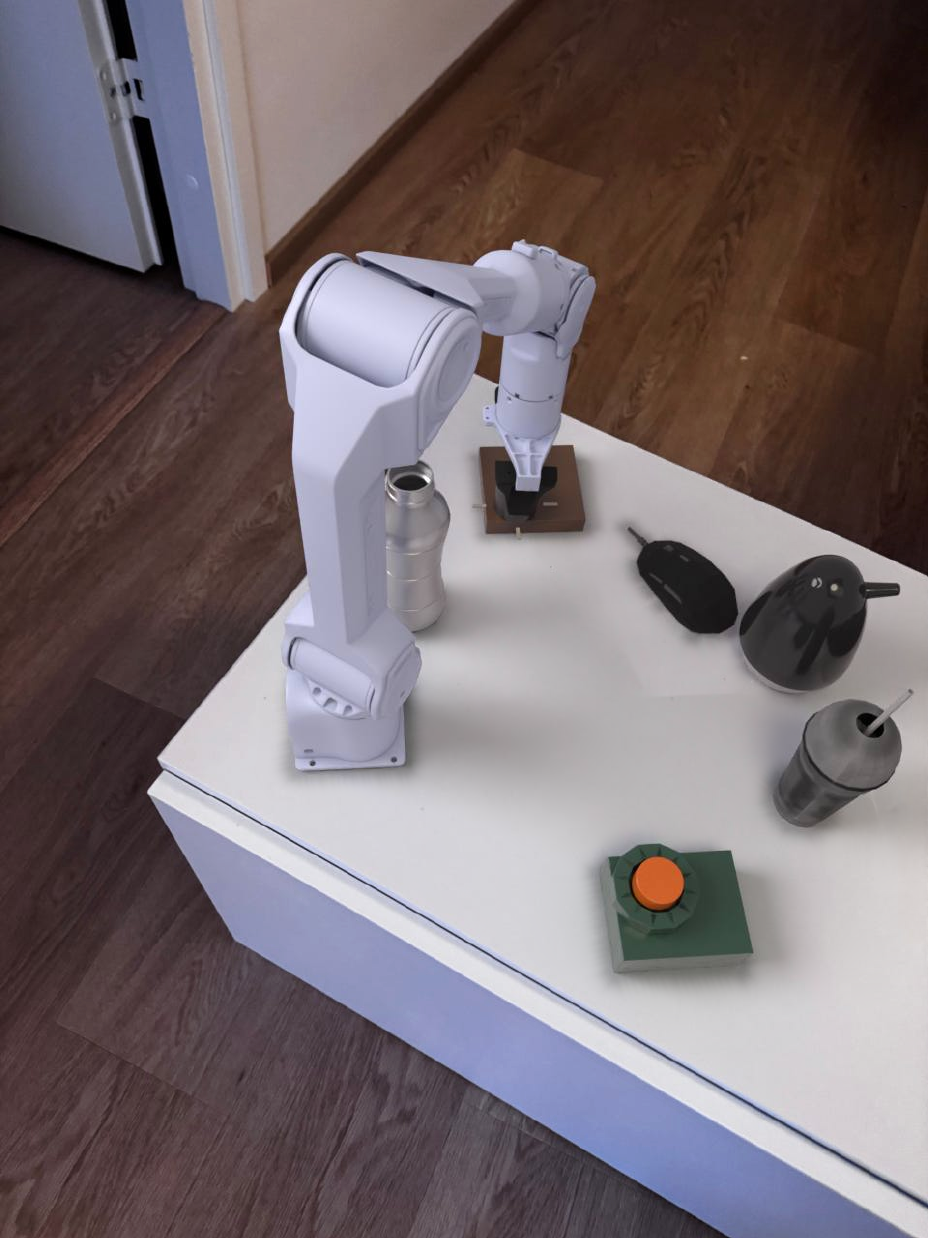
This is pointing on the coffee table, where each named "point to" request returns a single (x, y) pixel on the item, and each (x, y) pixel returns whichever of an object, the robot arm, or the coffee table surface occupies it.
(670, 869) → the button
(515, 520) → the knob
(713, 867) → the button box
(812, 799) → the beverage cup
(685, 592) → the gaming mouse
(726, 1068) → the coffee table surface
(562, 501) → the control panel
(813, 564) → the black bird figure
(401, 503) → the metal bottle
